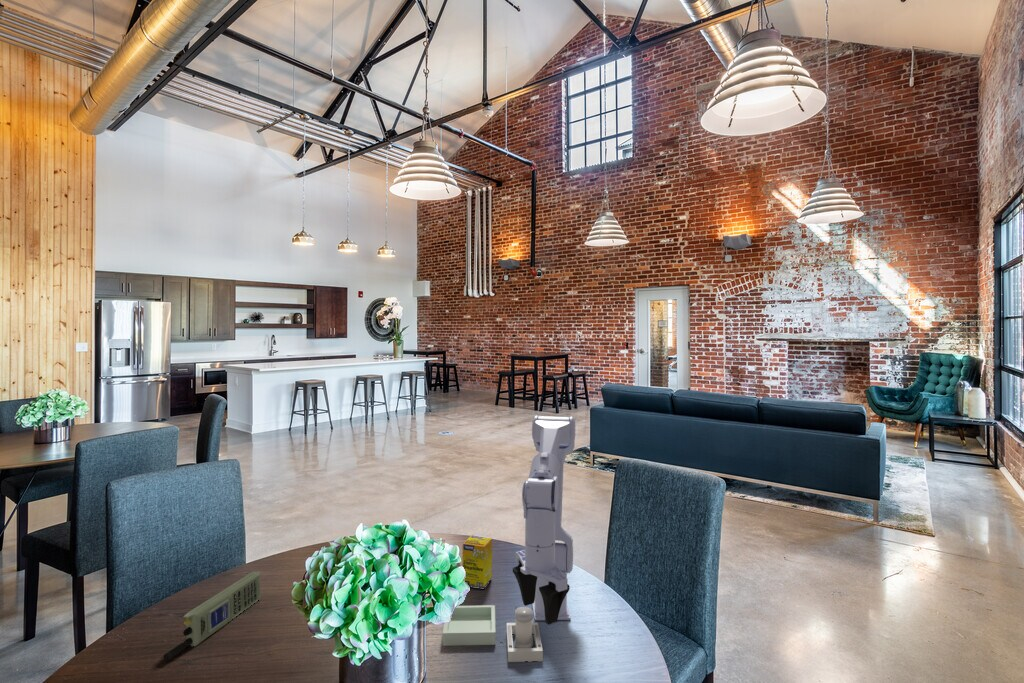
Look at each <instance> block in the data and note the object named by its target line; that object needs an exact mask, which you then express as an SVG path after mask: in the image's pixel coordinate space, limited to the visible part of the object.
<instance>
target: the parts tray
mask: <svg viewBox="0 0 1024 683" xmlns="http://www.w3.org/2000/svg"><path fill="white" fill-rule="evenodd" d="M456 606H457V607H456V608H455V609H454V611H453V614H452V618H451V621H450V622H448V623H445V624H444V623H443V629H442V646H443V647H446V646H447V647H449V646H491V645H492V646H493V645H494V646H495V645H496V605H494V604H492V605H491V604H489V605H487V604H486V605H484V604H483V605H481V604H480V605H456Z"/></svg>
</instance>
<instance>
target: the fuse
mask: <svg viewBox="0 0 1024 683" xmlns="http://www.w3.org/2000/svg"><path fill="white" fill-rule="evenodd" d="M514 610H515V611H514V618H515V622H514V623H515V635H514V648H532V647H533V642H534V638H533V635H532V622H533V619H534V613H533V608H530V607H528V606H519V607H517V608H516V609H514ZM533 648H534V647H533Z"/></svg>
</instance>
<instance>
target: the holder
mask: <svg viewBox="0 0 1024 683" xmlns="http://www.w3.org/2000/svg"><path fill="white" fill-rule="evenodd" d="M539 627H540V626H539V623H538V622H533V621H532V634H534V635H533V642H534V641H535V642H534V646H535V647H533V648H515V647H514V642H513V641H514V639H513V635H512V634H515V622H506V643H507V646H506V647H507V662H508V663H526V662H525V661H528V662H532V661H538V662H543V661H544V660H543V659H544V656H543V655H544V653H543V652H544V650H543V644H542V638H541V634H540V628H539ZM528 662H527V663H528Z"/></svg>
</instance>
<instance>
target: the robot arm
mask: <svg viewBox="0 0 1024 683" xmlns="http://www.w3.org/2000/svg"><path fill="white" fill-rule="evenodd" d="M531 425H532V426H531V435H532V436H531V437H532V440H533V444H534V447H535V450H536V452H538V453H537V454H535V456H534V457H533V458H532V461H531V466H530V470H529V474H528V479H527V480H526V479H525V480H523V485H522V490H521V492H522V493H521V498H522V499H521V500H522V508H523V519H525V521H524V522H525V526H524V528H525V529H524V534H525V536H524V539H525V540H524V543H525V544H524V549H522V550H520V551H516V552H515V562H516V563H517V566H514V567H512V573H513V575H514V576H515V580H516V581H517V584H518V587H519V589H520V590H519V591H520V595H521V599H522V603H523V605H524V607H528V606H529V605H531V606H532V610H533V619H534V621H545V623H546V624H547V625H549V626H550V625H552V624H554V623H557V622H558V621H569V620H571V619H572V617H571V613H570V611H569V610H570V609H569V608H568V603H567V595H568V593H569V591H570V584H569V583H568V580H569V579H568V578H567V577H568V576H567V575H568V574H570V573H571V572H572V571H573V567H574V546H573V545H574V543H573V542H574V540H573V538H572V535H570V533H569V532H568V531H566V530H565V529H564V528H563V527H562V521H563V520H562V518H563V516H562V515H563V490H564V487H563V485H564V464H565V462H566V461H565V460H566V458H567V456H568V455H570V454H572V453H574V449H575V440H576V419H575V417H574V416H550V415H548V416H545V415H544V416H542V415H535V416H534V417H533V419H532V424H531ZM556 541H561V542H556Z"/></svg>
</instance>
